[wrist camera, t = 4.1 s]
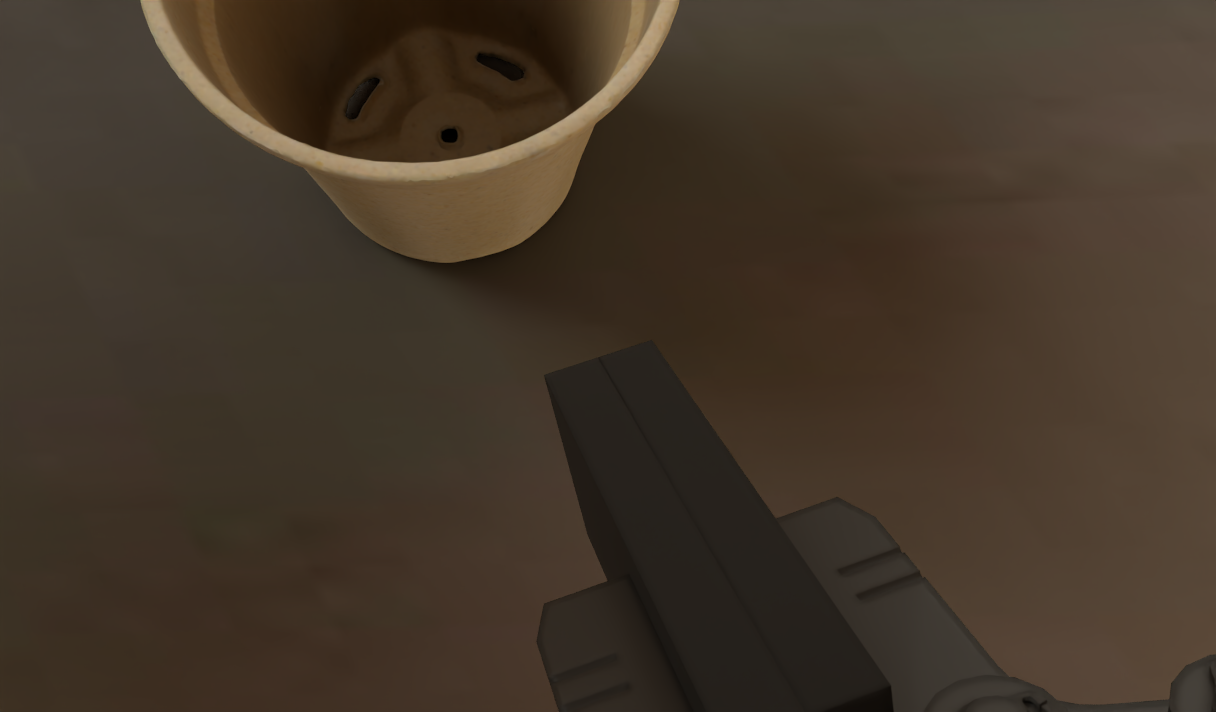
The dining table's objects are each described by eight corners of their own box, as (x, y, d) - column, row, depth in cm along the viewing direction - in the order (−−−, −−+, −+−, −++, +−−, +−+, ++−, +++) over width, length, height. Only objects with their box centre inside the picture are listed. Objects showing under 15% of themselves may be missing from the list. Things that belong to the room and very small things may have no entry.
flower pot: (631, 352, 27) (673, 204, 18) (224, 317, 26) (79, 150, 18) (656, -1, 29) (701, -270, 21) (285, -37, 29) (184, -324, 21)
